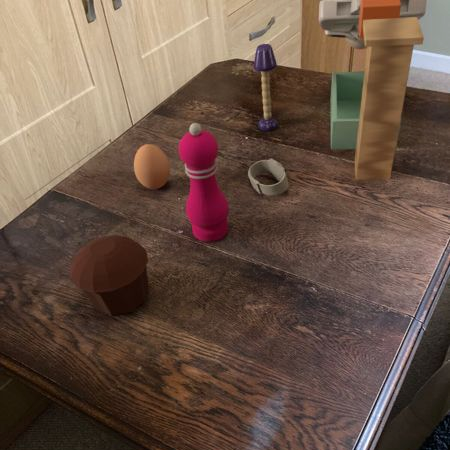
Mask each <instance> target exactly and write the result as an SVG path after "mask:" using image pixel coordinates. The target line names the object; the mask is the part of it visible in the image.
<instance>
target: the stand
mask: <svg viewBox="0 0 450 450" xmlns="http://www.w3.org/2000/svg"><path fill="white" fill-rule="evenodd" d="M363 34H364V42H365V47H367V48H366V57H365V63H364V64H365V65H364V71H365V73H364V82H363V91H362V100H361V109H360V118H359V127H358V135H357V144H356V149H355V155H354V174H355V180H356V181H360V180H361V181H372V180H373V181H376V180H377V181H380V180H381V181H385V180H386V181H390V180H391V175H392V170H393V164H394V158H395V152H396V149H397V146H396V142H397V143H398V141H397V137H398V138H399V135H398V131H399V132H400V130H399V126H400V127H401V124H400V120H401V121H402V114H403V107H404V102H405V97H406V91H407V86H408V81H409V76H410V75H409V74H410V69H411V63H412V57H413V51H414V46H417V45H424V39H425V38H424V33H423V31H422V28H421V24H420V22H419V20H418V18H417V17H409V18H390V19H371V20H363ZM395 148H396V149H395Z"/></svg>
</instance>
